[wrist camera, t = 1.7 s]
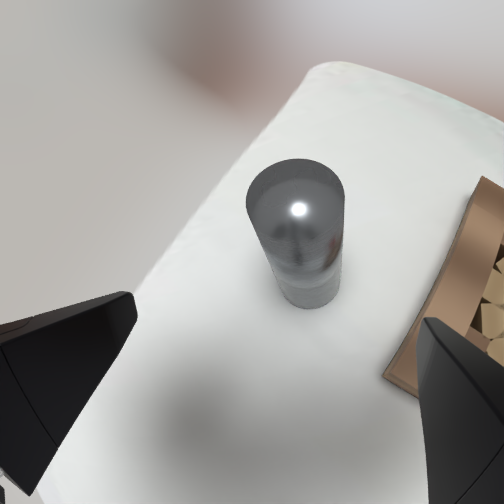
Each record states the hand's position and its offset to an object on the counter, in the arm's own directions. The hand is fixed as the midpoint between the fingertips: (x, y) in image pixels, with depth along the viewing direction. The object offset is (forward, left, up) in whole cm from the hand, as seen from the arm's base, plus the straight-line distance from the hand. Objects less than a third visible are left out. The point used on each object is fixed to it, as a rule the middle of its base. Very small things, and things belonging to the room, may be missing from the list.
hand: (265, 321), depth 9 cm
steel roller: (+5, +3, -12) cm, 14 cm away
